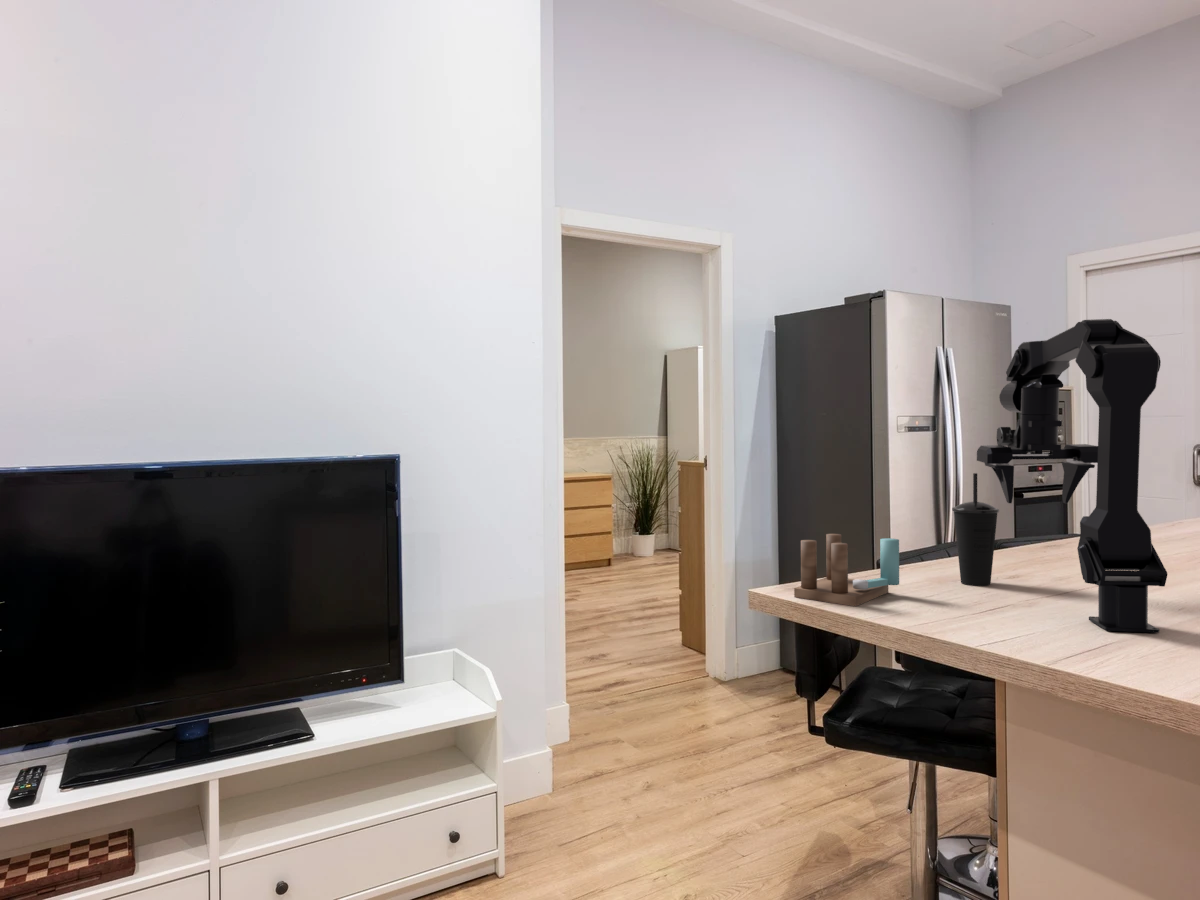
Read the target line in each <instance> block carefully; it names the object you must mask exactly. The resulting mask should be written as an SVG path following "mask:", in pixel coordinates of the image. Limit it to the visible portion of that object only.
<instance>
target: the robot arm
mask: <svg viewBox="0 0 1200 900" xmlns="http://www.w3.org/2000/svg"><path fill="white" fill-rule="evenodd" d="M1160 357H1161V356H1160V355H1159V353H1158V352H1157V351H1156V350H1155V348H1154V347H1153V346H1152V345H1151V343H1149V341H1147V339H1145V338H1144V337H1142V336H1140V335H1138V334H1137V333H1134V332H1132V331H1130V330H1128V329H1126V328H1124V327H1123V326H1122V325H1121V324H1120V323H1119V321H1117V320H1114V319H1111V318H1104V319H1103V318H1101V319H1083V320H1082V321H1078V322H1076V323H1075V325H1073V326H1072V327H1070V328H1068V329H1066V330H1064V331H1062V332H1061V333H1059V334H1056V335H1054V336H1051V337H1050V338H1048V339H1046V340H1045V339H1044V340H1035V341H1032V340H1031V341H1023V342H1021V343H1020V344H1019V345H1018V348H1017V349H1016V350H1015V351H1014V354H1013V356H1012V359H1011V360H1010V363H1009V365H1008V367H1007V369H1006V371H1005V373H1006V381H1007V382H1009V383H1007V384H1006V385H1005V386H1003V388H1002V389H1001V391H1000V393H999V397H998V398H999V402H1000V404H1001V406H1002V407H1003V408H1004V409H1005V410H1007V411H1009V412H1013V413H1020V419H1017V422H1016V428H1015V429H1012V427H1010V426H999V427H998V428H997V429H996V442H997V443H996V445H995V444H994V445H988V444H987V445H980V446H979V447H978V448H977V450H976V462H980V463H983V464H984V466H985V467H988V468H991V469H992V470H993V472H994V474H995V475H996V477H997V479H998V481H999V484H1000V486H1001V490H1002V492H1003V495H1004V498H1005V501H1006V502H1007V504H1012V503H1013V497H1014V474H1015V465H1012V464H1010V462H1011V461H1012V460H1066V461H1061V466H1062V469H1063V479H1062V490H1061V493H1062V496H1061V499H1062V503H1063V504H1068V503H1069V502H1070V500H1071V497H1072V496H1073V494H1074V492H1075V490H1076V489H1077V487H1078V486H1079V484H1080V482H1081V481H1082V479H1083V478H1084V477H1085V475H1086V474H1087V473H1088V471H1089V470H1090V469H1095V467H1096V466H1097V469H1096V470H1097V471H1096V496H1095V497H1096V500H1095V501H1096V502H1095V503H1096V504H1095V507H1094V509H1093V510H1092V512H1091V513H1090V515H1089V516H1085V515H1084V516H1082V517H1081V520H1080V521H1079V527H1080V531H1079V532H1080V533H1079V539H1078V540H1079V541H1078V546H1077V549H1076V550H1077V554H1078V560H1079V566H1080V572H1081V576H1082V580H1083V581H1084V583H1085V584H1090V585H1091V584H1092V585H1096V586H1098V590H1097V591H1098V594H1097V595H1098V609H1097V610H1098V616H1092V615H1091V616H1088V621H1090V622H1091V623H1093V624H1095V625H1097V626H1098V627H1100V628H1102V629H1103V630H1105V631H1108V632H1131V633H1132V632H1134V633H1155V634H1157V633H1159V632H1160V629H1159V628H1157V627H1156V626H1154V625H1153V624H1151V623H1148V619H1149V618H1148V617H1149V616H1148V615H1149V612H1148V611H1149V609H1148V606H1149V604H1148V603H1149V602H1148V601H1149V594H1148V593H1149V592H1148V590H1149V588H1148V587H1149V586H1150V587H1165V586H1166V582H1167V578H1168V572H1167V569H1166V567H1165V565H1164V564H1163V562H1162V560H1161V557H1160V556H1159V554H1158V552H1157V551H1156V549H1155V546H1154V545H1153V543H1152V532H1151V531H1152V530H1151V528H1150V527H1149V526H1148V524H1147V522H1146V521H1145V519H1144V518H1143V516H1142V515H1141V513H1140V512H1139V511H1138V509H1139V508H1138V502H1139V475H1140V474H1139V473H1140V472H1139V471H1140V445H1141V416H1142V415H1141V414H1142V406H1143V405H1144V404H1145V403H1146V401H1147V400H1148V399H1149V398H1150V396H1151V395H1152V394H1153V392H1154V391H1155V389H1156V388H1157V384H1158V383H1157V381H1158V375H1159V371H1160V370H1161V369H1160V368H1161V358H1160ZM1073 360H1074V361H1075V363H1076V365H1077V366H1078V367H1079V368H1080V370H1081V372H1082V373H1083V375H1084V376H1085V385H1086V386H1085V387H1086V390H1087V392H1088V393H1089V395H1090V396H1091V398H1092V399H1093V401H1094V403H1095V404H1096V405H1097V407H1098V434H1097V436H1098V437H1097V439H1098V440H1097V445H1093V444H1086V443H1081V444H1080V443H1079V444H1077V443H1076V444H1075V443H1074V444H1073V443H1071V444H1065V446H1064V448H1062V444H1060V443H1058V442H1059V427H1060V428H1061V427H1062V425H1063V423H1062V420H1059V415H1060V414H1059V410H1060V407H1059V406H1060V389H1062V388H1064V383H1063V382H1062V380H1060V379H1059V377H1060V376H1061V375H1062V373H1064V372H1065V371H1066V370H1067V369H1069V368H1070V363H1071V362H1072V361H1073ZM1070 361H1071V362H1070ZM1095 464H1096V465H1095Z"/></svg>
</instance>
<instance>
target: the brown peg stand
mask: <svg viewBox="0 0 1200 900" xmlns="http://www.w3.org/2000/svg"><path fill="white" fill-rule="evenodd" d="M825 536H826V538H825V541H826V542H825V545H826V547H825V548H826V553H825V554H826V557H825V558H826V565H825V566H826V568H825V569H826V570H825V571H826V577H824V578H820V579H818V566H817V565H818V559H817V558H818V557H817V555H818V552H817V550H818V549H817V548H818V546H817V540H815V539H801V540H800V585H799V586H796V587H794V588H793V590H794V591H793V595H794V596H793V597H794V598H799V599H806V600H812V601H819V602H823V603H825V602H826V603H832V604H837V605H838V604H839V605H846V606H851V607H857V606H859V605H862V604H865V603H867V602H869V601H871V600H874V599H877V598H878V597H880V596H883V595H885V594H887V593H889V585H885V586H879V587H872V588H868V589H865V590H859V589H854V588H853V580H856V579H854V578H849V564H848V563H849V557H848V556H849V555H848V553H849V552H848V551H849V547H848V546H849V544H848V543H846V542H842V534H840V533H826V534H825Z"/></svg>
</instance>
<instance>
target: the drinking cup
mask: <svg viewBox="0 0 1200 900" xmlns="http://www.w3.org/2000/svg"><path fill="white" fill-rule="evenodd" d="M972 483H973V484H972V485H973V486H972V488H973V489H972V491H973V493H972V494H973V496H972V497H973V498H972V500H973V501H967V502H963V503H961V504H958V505H956V506H954V507H952V508H951V510H952V512H953V518H954V525H955V535H956V536H955V537H956V545H957V546H956V548H957V555H958V565H959V567H958V568H959V575H960V576H959V577H960V583H961V584H964V585H967V586H975V587H976V586H977V587H987V586H991V582H992V575H993V574H992V572H993V564H994V563H993V560H994V553H995V544H996V543H995V542H996V541H995V540H996V531H997V524H998V523H997V522H998V513H999V512H1000V508H996V507H995V506H993V505H991V504H990V503H986V502H981V501H978V473H977V472H974V473H973V474H972Z"/></svg>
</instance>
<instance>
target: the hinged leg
mask: <svg viewBox="0 0 1200 900" xmlns="http://www.w3.org/2000/svg"><path fill="white" fill-rule="evenodd" d="M879 541H880V542H879V543H880V546H879V548H880V549H879V552H880V553H879V554H880V559H879V560H880V561H879V563H880V572H879V574H880V576H879V577H878V578H872V579H855V580H853V588H854V589H859V590H865V589H868V588H872V587H879V586H885V585H888V586H899V585H900V539H898V538H889V537H886V538H880V539H879Z"/></svg>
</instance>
